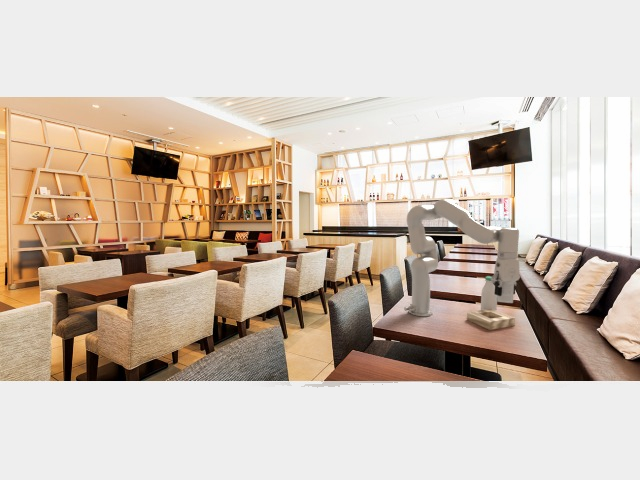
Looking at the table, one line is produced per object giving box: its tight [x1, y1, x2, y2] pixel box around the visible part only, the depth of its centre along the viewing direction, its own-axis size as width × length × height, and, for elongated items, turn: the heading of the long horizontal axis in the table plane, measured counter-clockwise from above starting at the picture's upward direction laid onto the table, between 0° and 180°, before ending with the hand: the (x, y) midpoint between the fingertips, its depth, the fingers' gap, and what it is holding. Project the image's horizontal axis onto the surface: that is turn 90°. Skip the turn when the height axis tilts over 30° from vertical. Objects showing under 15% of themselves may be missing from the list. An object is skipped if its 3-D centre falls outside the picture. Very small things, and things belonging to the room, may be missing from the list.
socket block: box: [466, 309, 516, 331], centre depth 152 cm, size 16×14×4 cm
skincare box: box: [497, 277, 514, 304], centre depth 135 cm, size 6×4×12 cm
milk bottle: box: [480, 275, 498, 311], centre depth 166 cm, size 8×8×20 cm
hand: (504, 294), depth 135 cm, fingers closed on skincare box, 7 cm apart
